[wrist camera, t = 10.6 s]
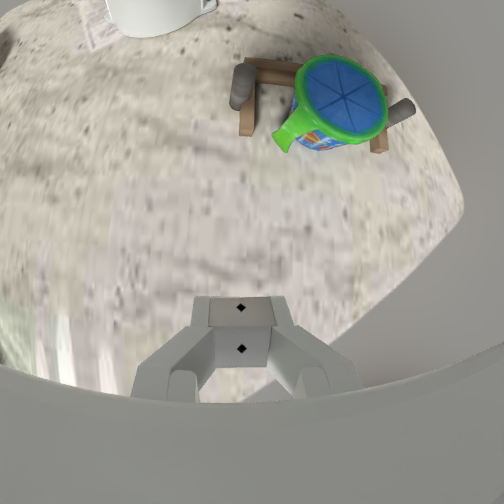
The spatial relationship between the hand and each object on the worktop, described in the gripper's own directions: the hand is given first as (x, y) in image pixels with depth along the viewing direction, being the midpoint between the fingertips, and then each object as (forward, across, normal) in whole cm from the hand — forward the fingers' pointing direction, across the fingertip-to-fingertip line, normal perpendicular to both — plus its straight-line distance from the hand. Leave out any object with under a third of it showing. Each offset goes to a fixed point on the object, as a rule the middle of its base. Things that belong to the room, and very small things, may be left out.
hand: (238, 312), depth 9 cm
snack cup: (+29, -11, -7) cm, 31 cm away
